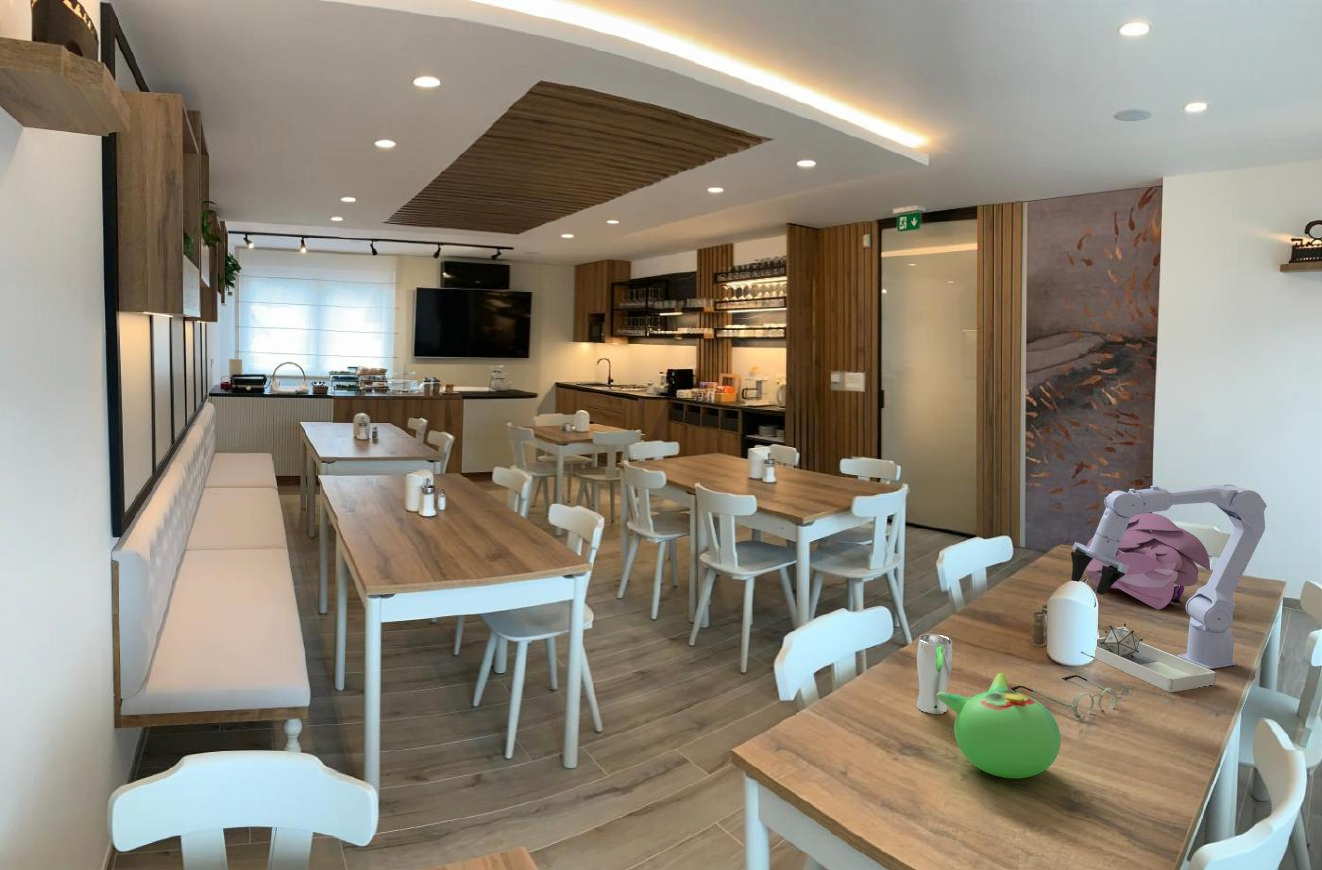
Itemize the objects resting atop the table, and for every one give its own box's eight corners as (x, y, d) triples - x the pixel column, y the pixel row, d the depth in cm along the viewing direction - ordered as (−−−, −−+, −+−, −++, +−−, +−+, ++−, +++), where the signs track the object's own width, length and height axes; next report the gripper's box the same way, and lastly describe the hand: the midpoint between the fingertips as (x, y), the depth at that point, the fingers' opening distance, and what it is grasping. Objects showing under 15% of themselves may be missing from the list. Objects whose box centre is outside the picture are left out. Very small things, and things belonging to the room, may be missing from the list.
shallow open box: (1121, 646, 193) (1122, 634, 192) (1215, 685, 170) (1216, 672, 170) (1079, 651, 188) (1080, 640, 188) (1170, 692, 166) (1171, 679, 165)
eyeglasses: (1067, 721, 152) (1068, 698, 152) (1007, 690, 166) (1009, 668, 166) (1124, 708, 158) (1126, 686, 158) (1063, 679, 173) (1064, 658, 172)
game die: (1128, 673, 184) (1153, 652, 177) (1093, 659, 185) (1118, 636, 179) (1124, 645, 191) (1149, 624, 184) (1091, 631, 192) (1114, 609, 185)
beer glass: (948, 703, 158) (952, 635, 157) (949, 718, 152) (954, 647, 150) (914, 698, 160) (917, 631, 159) (913, 712, 154) (917, 642, 152)
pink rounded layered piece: (1204, 618, 230) (1227, 530, 229) (1190, 621, 213) (1215, 526, 212) (1081, 581, 255) (1102, 502, 254) (1060, 582, 238) (1082, 496, 237)
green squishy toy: (1003, 805, 122) (1008, 720, 120) (928, 755, 137) (932, 678, 136) (1078, 782, 129) (1085, 701, 128) (999, 736, 145) (1004, 664, 143)
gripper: (1072, 524, 190) (1053, 572, 192) (1122, 545, 177) (1100, 597, 179) (1092, 529, 192) (1072, 577, 195) (1142, 550, 179) (1120, 601, 181)
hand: (1087, 587), depth 187 cm, fingers open, 7 cm apart
